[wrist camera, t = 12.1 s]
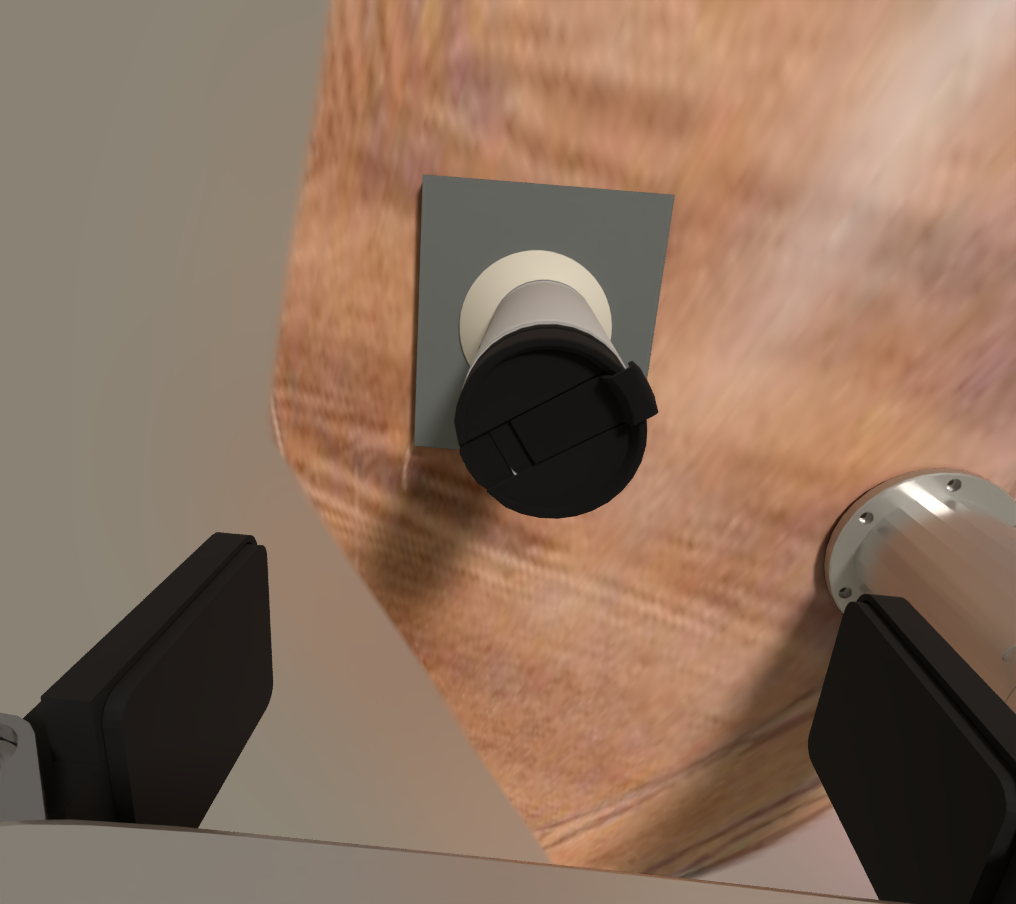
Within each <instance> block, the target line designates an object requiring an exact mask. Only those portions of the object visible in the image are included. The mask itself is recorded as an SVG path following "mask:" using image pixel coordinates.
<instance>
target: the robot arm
mask: <svg viewBox="0 0 1016 904" xmlns="http://www.w3.org/2000/svg"><path fill="white" fill-rule="evenodd" d="M824 569H825V580H826V584H827V587H828V590H829V593H830V595H831V597H832V599H833V600H834V602H835V604H836V605H837V607H838V608H839V609H840V611H841V612H842V613H843V617H842V621H841V624H840V628H839V631H838V635H837V638H836V642H835V645H834V649H833V652H832V656H831V660H830V663H829V667H828V670H827V674H826V677H825V681H824V684H823V688H822V691H821V695H820V698H819V702H818V706H817V709H816V713H815V716H814V720H813V723H812V727H811V730H810V734H809V739H808V750H809V756H810V759H811V762H812V764H813V766H814V768H815V770H816V772H817V774H818V776H819V778H820V780H821V782H822V785H823V787H824V789H825V791H826V793H827V795H828V797H829V799H830V801H831V803H832V805H833V807H834V809H835V811H836V813H837V815H838V817H839V819H840V821H841V823H842V825H843V827H844V829H845V831H846V833H847V835H848V837H849V839H850V841H851V844H852V846H853V848H854V849H855V851H856V854H857V855H858V858H859V860H860V862H861V864H862V866H863V867H864V870H865V872H866V874H867V876H868V878H869V880H870V882H871V884H872V886H873V888H874V890H875V892H876V894H877V896H878V898H879V900H873V899H864V898H856V897H847V896H838V895H829V894H821V893H812V892H802V891H794V890H785V889H776V888H766V887H758V886H749V885H740V884H731V883H722V882H713V881H705V880H695V879H686V878H677V877H667V876H658V875H649V874H639V873H630V872H621V871H611V870H602V869H593V868H583V867H574V866H564V865H555V864H545V863H534V862H526V861H517V860H507V859H498V858H487V857H478V856H469V855H459V854H449V853H439V852H429V851H419V850H409V849H399V848H389V847H379V846H368V845H359V844H349V843H339V842H329V841H319V840H309V839H299V838H289V837H279V836H268V835H259V834H249V833H239V832H229V831H219V830H208V829H199V828H198V827H199V825H200V823H201V822H202V820H203V818H204V817H205V815H206V813H207V811H208V809H209V808H210V806H211V804H212V803H213V801H214V799H215V797H216V795H217V794H218V792H219V790H220V789H221V787H222V785H223V783H224V782H225V780H226V778H227V776H228V775H229V773H230V771H231V769H232V768H233V766H234V764H235V762H236V761H237V759H238V757H239V755H240V754H241V752H242V750H243V748H244V747H245V745H246V743H247V741H248V740H249V738H250V736H251V734H252V733H253V731H254V729H255V727H256V726H257V724H258V722H259V720H260V719H261V717H262V715H263V714H264V712H265V710H266V708H267V706H268V704H269V701H270V698H271V694H272V689H273V671H272V651H271V650H272V649H271V630H270V607H269V588H268V587H269V586H268V566H267V552H266V548H265V547H264V546H263V545H257V542H256V540H255V538H254V537H253V536H252V535H242V534H230V533H221V532H216V533H215V534H213V535H212V536H211V537H210V538H209V539H207V540H206V541H205V542H204V543H203V544H202V545H201V546H200V547H199V548H198V549H197V550H196V551H195V552H194V553H193V554H192V555H190V557H189V558H187V559H186V560H185V561H184V562H183V563H182V564H181V565H180V566H179V567H178V568H177V569H176V570H175V571H173V572H172V573H171V574H170V575H169V576H168V577H167V578H166V579H165V580H164V581H163V582H162V583H161V584H160V585H159V586H158V587H157V588H155V589H154V590H153V591H152V592H151V593H150V594H149V595H148V596H147V597H146V598H145V599H144V600H143V601H142V602H141V603H140V604H139V605H138V606H136V607H135V608H134V609H133V610H132V611H131V612H130V613H129V614H128V615H127V616H126V617H125V618H124V619H123V620H122V621H120V622H119V623H118V624H117V625H116V626H115V627H114V628H113V629H112V630H111V631H110V632H109V633H108V634H107V635H106V636H105V637H103V638H102V639H101V640H100V641H99V642H98V643H97V644H96V645H95V646H94V647H93V648H92V649H91V650H90V651H89V652H88V653H86V654H85V655H84V656H83V657H82V658H81V659H80V660H79V661H78V662H77V663H76V664H75V665H74V666H73V667H72V668H71V669H69V670H68V671H67V672H66V673H65V674H64V675H63V676H62V677H61V678H60V679H59V680H58V681H57V682H56V683H55V684H54V685H52V686H51V687H50V688H49V689H48V690H47V691H46V692H45V693H44V694H43V695H42V696H41V702H40V703H39V704H38V705H37V706H36V707H35V708H33V710H31V711H30V712H29V713H28V714H27V715H26V716H25V717H24V718H23V719H22V718H20V717H19V716H15V715H9V714H4V713H0V904H1016V502H1015V501H1014V499H1013V498H1012V497H1011V496H1010V495H1009V494H1008V493H1006V492H1005V491H1004V490H1003V489H1001V488H1000V487H999V486H997V485H996V484H994V483H992V482H990V481H988V480H987V479H985V478H983V477H981V476H979V475H976V474H973V473H970V472H967V471H964V470H956V469H949V468H934V469H923V470H918V471H913V472H908V473H905V474H902V475H900V476H897V477H894V478H892V479H889V480H887V481H885V482H883V483H881V484H880V485H878V486H876V487H875V488H873V489H871V490H869V491H868V492H867V493H866V494H865V495H863V496H862V497H861V498H860V499H858V500H857V501H856V502H855V503H854V504H853V505H852V506H851V507H850V508H849V509H848V511H847V512H846V513H845V514H844V515H843V516H842V518H841V519H840V521H839V523H838V524H837V526H836V527H835V529H834V531H833V532H832V535H831V538H830V540H829V543H828V546H827V549H826V555H825V562H824Z"/></svg>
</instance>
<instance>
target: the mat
mask: <svg viewBox="0 0 1016 904" xmlns="http://www.w3.org/2000/svg"><path fill="white" fill-rule="evenodd" d="M674 196H675V195H669V194H657V193H645V192H633V191H620V190H608V189H596V188H583V187H571V186H559V185H546V184H534V183H522V182H509V181H497V180H485V179H472V178H460V177H448V176H436V175H423V184H422V215H421V247H420V278H419V310H418V342H417V373H416V405H415V436H414V446H423V447H434V448H446V449H457V450H460V446H459V444H458V439H457V434H456V430H455V425H454V418H455V412H456V405H457V402H458V400H459V397H460V394H461V392H462V388H463V384H464V382H465V379H466V376H467V374H468V371H469V369H470V367H471V364H472V362H473V360H474V357H475V355H476V353H477V351H478V348H479V346H480V344H481V342H482V339H483V337H484V335H485V332H486V330H487V328H488V326H489V323H490V321H491V319H492V317H493V314H494V312H495V310H496V308H497V306H498V305H499V303H500V302H501V300H502V299H503V298H504V297H505V296H506V295H507V294H508V293H509V292H510V291H512V290H513V289H514V288H516V287H517V286H519V285H522V284H524V283H526V282H529V281H534V280H548V279H549V280H554V281H559V282H561V283H564V284H566V285H569V286H570V287H572V288H573V289H575V290H576V291H578V292H579V293H580V294H581V295H582V296H583V297H584V298H585V300H586V301H587V303H588V304H589V306H590V307H591V309H592V311H593V312H594V314H595V316H596V317H597V319H598V321H599V323H600V324H601V326H602V328H603V329H604V331H605V333H606V334H607V336H608V338H609V339H610V341H611V343H612V344H613V346H614V348H615V349H616V351H617V353H618V355H619V356H620V358H621V360H622V361H623V363H624V365H625V366H626V368H628V367H629V365H628V362H630V361H633V362H635V363H636V364H637V365H638V366H639V367H640V368H641V370H642V372H643V374H644V375H645V377H646V379H647V376H648V369H649V362H650V356H651V349H652V342H653V336H654V329H655V322H656V316H657V309H658V303H659V296H660V289H661V283H662V276H663V269H664V263H665V256H666V249H667V243H668V236H669V229H670V223H671V216H672V209H673V203H674Z"/></svg>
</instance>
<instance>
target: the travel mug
mask: <svg viewBox="0 0 1016 904" xmlns="http://www.w3.org/2000/svg"><path fill="white" fill-rule="evenodd" d="M628 365H629V367H628V368H626V366H625V365H624V363H623V361H622V360H621V358H620V356H619V355H618V353H617V351H616V349H615V348H614V346H613V344H612V343H611V341H610V339H609V338H608V336H607V334H606V333H605V331H604V329H603V328H602V326H601V324H600V323H599V321H598V319H597V317H596V316H595V314H594V312H593V311H592V309H591V307H590V306H589V304H588V303H587V301H586V300H585V298H584V297H583V296H582V295H581V294H580V293H579V292H578V291H576V290H575V289H573V288H572V287H570V286H569V285H566V284H564V283H561V282H559V281H554V280H549V279H548V280H534V281H529V282H526V283H524V284H522V285H519V286H517V287H516V288H514V289H513V290H512V291H510V292H509V293H508V294H507V295H506V296H505V297H504V298H503V299H502V300H501V302H500V303H499V305H498V306H497V308H496V310H495V312H494V314H493V317H492V319H491V321H490V323H489V326H488V328H487V330H486V332H485V335H484V337H483V339H482V342H481V344H480V346H479V348H478V351H477V353H476V355H475V357H474V360H473V362H472V364H471V367H470V369H469V371H468V374H467V376H466V379H465V382H464V384H463V388H462V392H461V394H460V397H459V400H458V402H457V405H456V412H455V418H454V425H455V430H456V434H457V439H458V444H459V446H460V455H461V457H462V459H463V461H464V463H465V465H466V467H467V469H468V471H469V472H470V473H471V475H472V476H473V477H474V479H475V480H476V481H477V483H478V484H480V485H481V486H483V487H485V488H486V489H487V492H488V493H489V494H490V495H491V496H493V497H494V498H495V499H496V500H497V501H499V502H500V503H501V504H502V505H503V506H505V507H506V508H509V509H511V510H514V511H516V512H518V513H521V514H525V515H529V516H534V517H538V518H556V519H558V518H566V517H573V516H578V515H581V514H584V513H587V512H590V511H593V510H595V509H597V508H598V507H600V506H602V505H604V504H606V503H608V502H609V501H610V500H612V499H613V498H614V497H615V496H616V495H618V494H619V493H620V492H621V491H622V490H623V489H624V488H625V487H626V486H627V484H628V483H629V482H630V481H631V479H632V478H633V477H634V475H635V473H636V471H637V469H638V467H639V465H640V464H641V461H642V458H643V454H644V451H645V447H646V441H647V420H646V419H648V418H650V417H652V416H654V415H656V414H657V413H658V409H657V405H656V401H655V396H654V394H653V392H652V389H651V387H650V385H649V383H648V381H647V379H646V377H645V375H644V374H643V372H642V370H641V368H640V367H639V366H638V365H637V364H636V363H635V362H633V361H630V362H628Z"/></svg>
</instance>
